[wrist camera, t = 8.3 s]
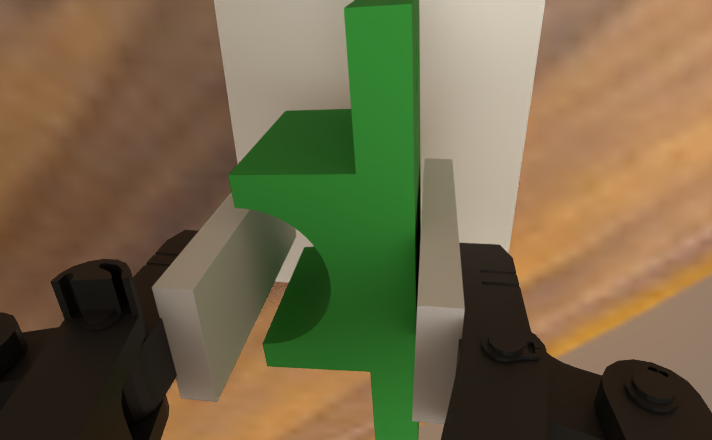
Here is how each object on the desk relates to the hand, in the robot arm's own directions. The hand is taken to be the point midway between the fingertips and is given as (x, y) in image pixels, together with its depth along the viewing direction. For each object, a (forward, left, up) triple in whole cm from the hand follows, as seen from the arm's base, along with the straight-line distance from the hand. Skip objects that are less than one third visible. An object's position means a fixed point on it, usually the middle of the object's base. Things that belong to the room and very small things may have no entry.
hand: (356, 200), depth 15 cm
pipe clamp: (0, 0, -1) cm, 1 cm away
